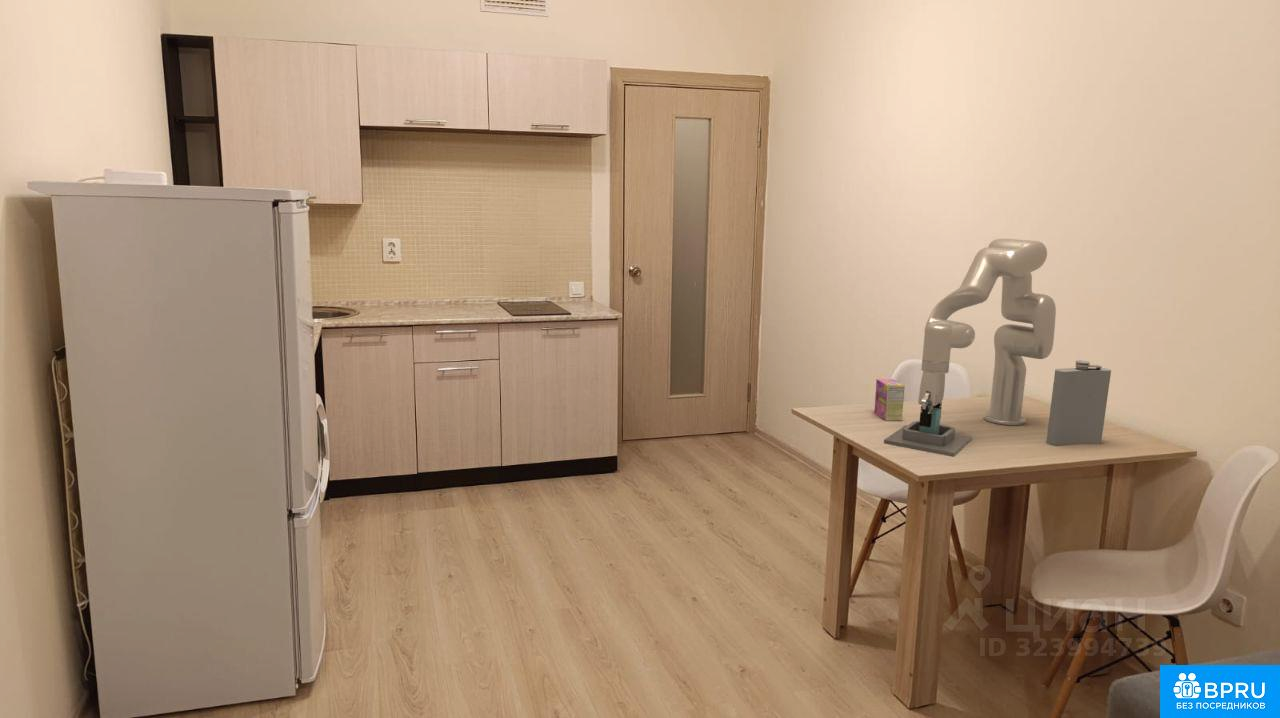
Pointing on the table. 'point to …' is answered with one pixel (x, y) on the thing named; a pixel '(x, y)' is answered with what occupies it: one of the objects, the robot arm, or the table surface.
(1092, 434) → the flask
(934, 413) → the block
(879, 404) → the box
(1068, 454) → the table surface
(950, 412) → the table surface
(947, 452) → the well
